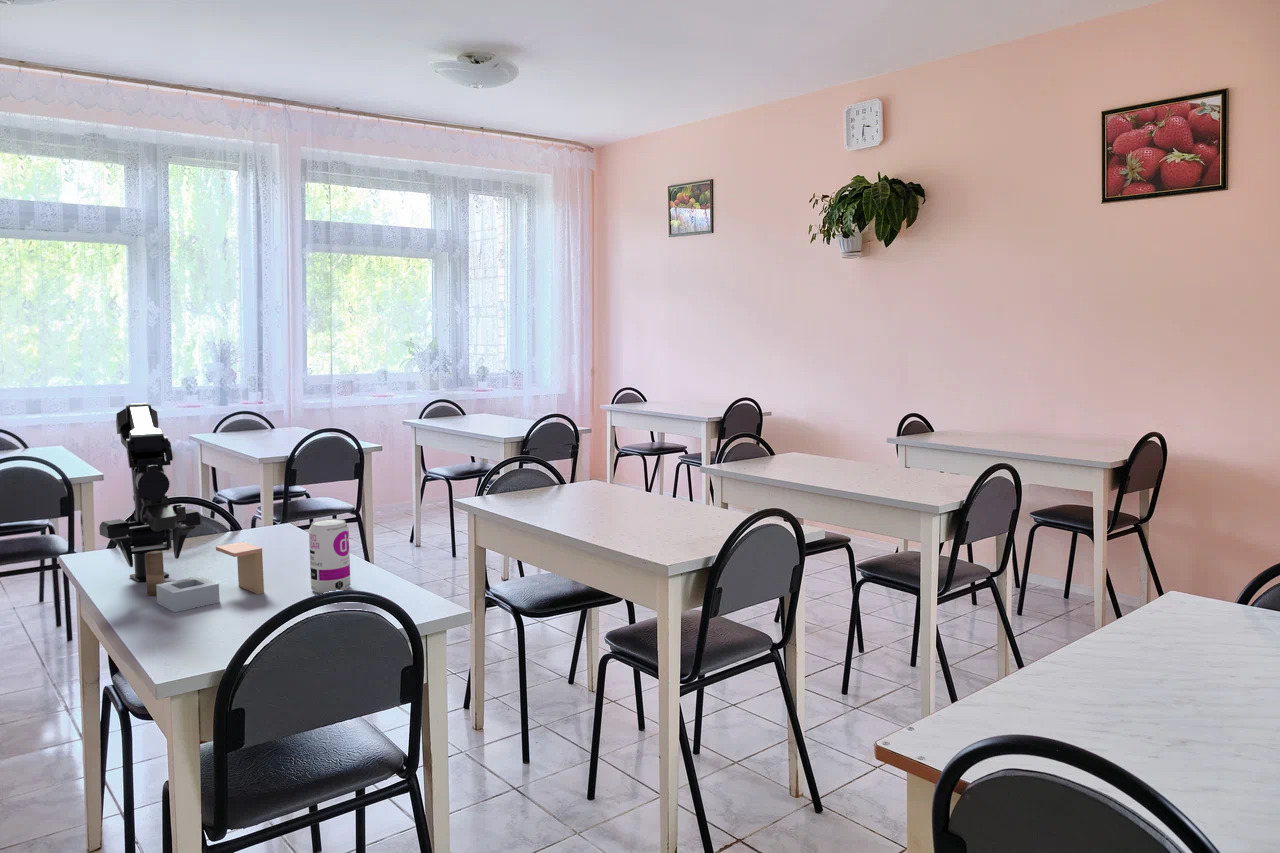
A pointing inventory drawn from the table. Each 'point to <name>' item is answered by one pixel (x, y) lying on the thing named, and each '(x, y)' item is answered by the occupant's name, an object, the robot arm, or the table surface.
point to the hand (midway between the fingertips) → (154, 562)
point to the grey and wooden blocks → (207, 591)
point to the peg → (154, 571)
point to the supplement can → (329, 555)
